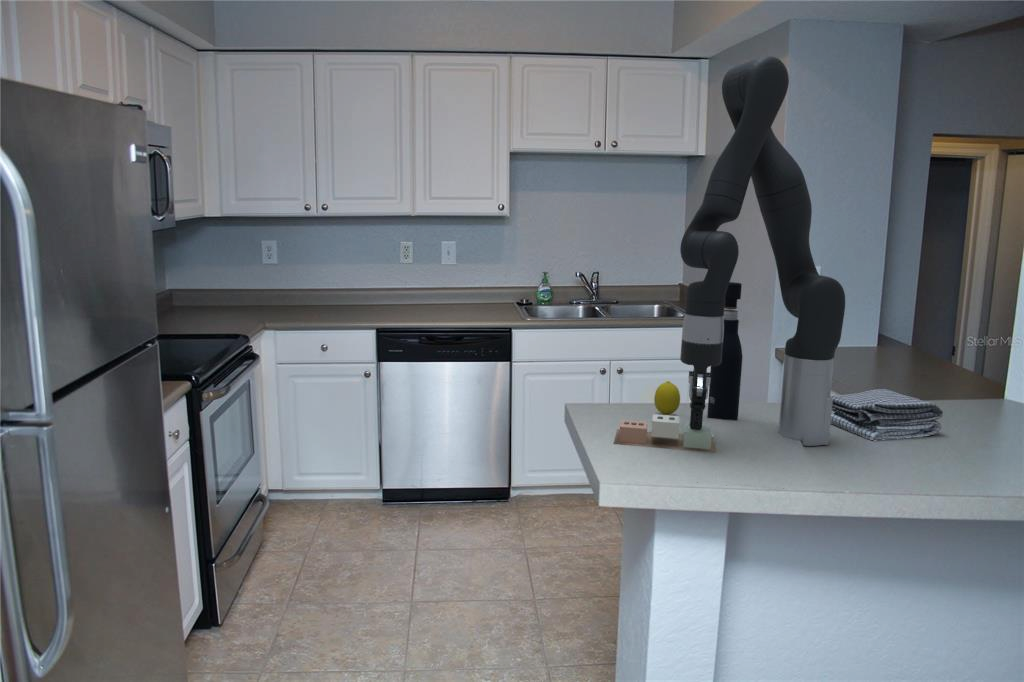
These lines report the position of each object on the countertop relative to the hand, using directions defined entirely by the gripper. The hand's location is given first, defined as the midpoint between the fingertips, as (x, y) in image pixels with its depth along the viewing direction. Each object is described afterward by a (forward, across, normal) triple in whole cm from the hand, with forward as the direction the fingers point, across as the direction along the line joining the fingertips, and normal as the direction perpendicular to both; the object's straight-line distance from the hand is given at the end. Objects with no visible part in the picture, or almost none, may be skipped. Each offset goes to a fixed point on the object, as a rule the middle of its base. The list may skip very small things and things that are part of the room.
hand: (695, 427), depth 152 cm
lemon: (+5, +23, +6) cm, 24 cm away
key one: (+3, 0, 0) cm, 3 cm away
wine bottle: (+5, +23, -6) cm, 24 cm away
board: (+4, +1, +6) cm, 7 cm away
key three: (+3, 0, +12) cm, 12 cm away
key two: (+2, 0, +6) cm, 6 cm away
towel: (+5, +27, -39) cm, 48 cm away
